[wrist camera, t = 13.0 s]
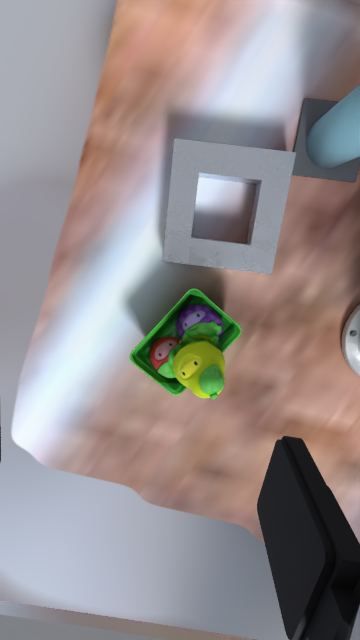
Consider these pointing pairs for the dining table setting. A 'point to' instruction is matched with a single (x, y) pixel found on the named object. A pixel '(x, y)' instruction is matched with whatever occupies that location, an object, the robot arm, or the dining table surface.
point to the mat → (302, 162)
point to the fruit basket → (188, 347)
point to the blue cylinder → (336, 133)
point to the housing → (231, 165)
